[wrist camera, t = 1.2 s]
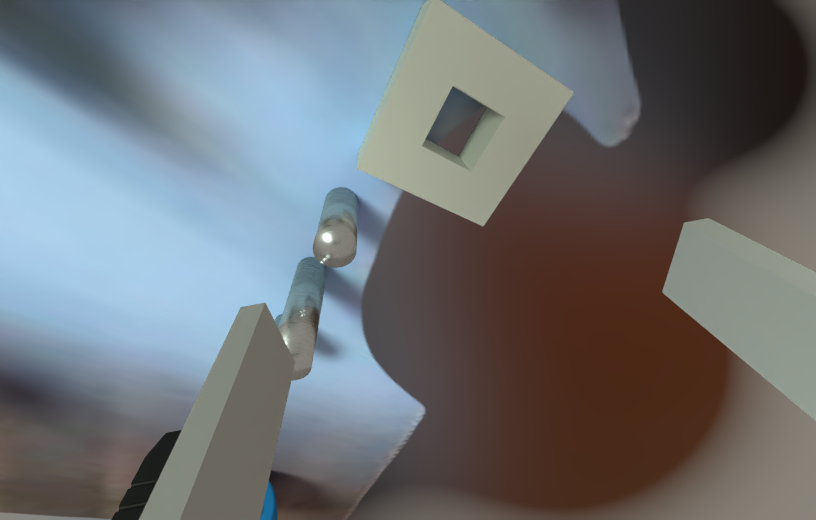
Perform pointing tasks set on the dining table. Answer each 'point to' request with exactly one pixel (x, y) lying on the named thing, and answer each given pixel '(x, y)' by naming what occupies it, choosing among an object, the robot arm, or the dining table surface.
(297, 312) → the long pin
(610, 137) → the dining table surface
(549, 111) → the hole block
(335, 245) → the medium pin
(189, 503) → the robot arm
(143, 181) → the dining table surface
